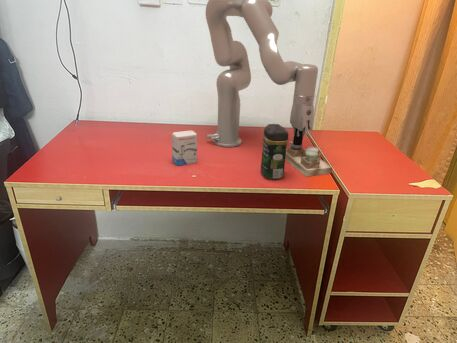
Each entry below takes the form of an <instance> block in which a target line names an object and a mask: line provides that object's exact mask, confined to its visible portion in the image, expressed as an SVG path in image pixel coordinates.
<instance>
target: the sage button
mask: <svg viewBox="0 0 457 343" xmlns="http://www.w3.org/2000/svg"><path fill="white" fill-rule="evenodd" d="M318 153H319V151H318V152H317V151H314V150H307V151H306V153H305V155H306V158H305V159H306V160H307V161H308V162H312V161H316V157H317V155H318Z"/></svg>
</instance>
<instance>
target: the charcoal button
mask: <svg viewBox="0 0 457 343" xmlns="http://www.w3.org/2000/svg"><path fill="white" fill-rule="evenodd" d="M290 145H291V148H292V149H293V150H294V151H295V150H301V148H302V149H303V144H302V145H296V146H295V145H294V144H293V143H291V144H290Z"/></svg>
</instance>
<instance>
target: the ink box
mask: <svg viewBox="0 0 457 343" xmlns="http://www.w3.org/2000/svg"><path fill="white" fill-rule="evenodd" d="M171 153H172V162H173V164H175V165H176V166H184V165H190V164H195V163H197V161H198V133H196V132H195V131H194V130H183V131H174V132H172V133H171Z"/></svg>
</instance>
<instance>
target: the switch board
mask: <svg viewBox="0 0 457 343" xmlns="http://www.w3.org/2000/svg"><path fill="white" fill-rule="evenodd" d="M306 151H307V148H306V149H304V148H303V147H302V148H301V150H295V151H294V150H293V149H292V148H291V146H287V147H286V156H285V162H288V163H289V164H290V165H291V166H292V167H293V168H294V169H296V170H297V171H298V172H299V173H300V174H301V175H303V176H304V178H306V177H313V176H321V175H329V174H332V170H333V167H332V165H330V164H328V163H327V162H326V161H324V160H323V159H321V158H322V157H321V156H322V154H321V153H319V152H318V155H317V157H316V161H312V162H308V161H307V160H306V159H305V158H306V155H305V153H306Z"/></svg>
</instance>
